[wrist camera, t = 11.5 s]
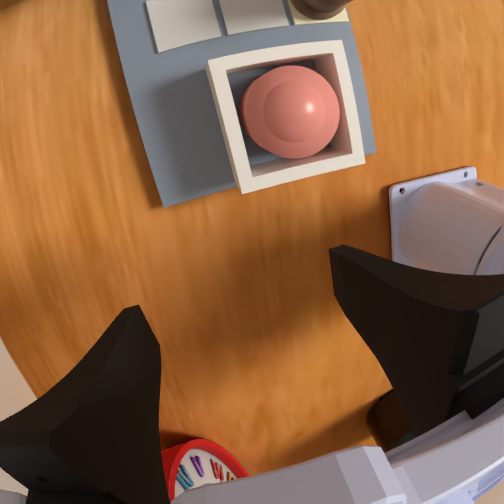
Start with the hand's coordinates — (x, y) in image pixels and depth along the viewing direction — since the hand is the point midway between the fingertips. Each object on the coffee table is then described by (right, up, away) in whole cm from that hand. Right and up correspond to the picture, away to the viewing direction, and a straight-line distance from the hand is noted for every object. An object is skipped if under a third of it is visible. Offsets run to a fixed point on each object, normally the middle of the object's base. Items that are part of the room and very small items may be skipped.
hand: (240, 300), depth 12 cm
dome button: (+2, +10, +6) cm, 12 cm away
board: (0, +13, +5) cm, 14 cm away
